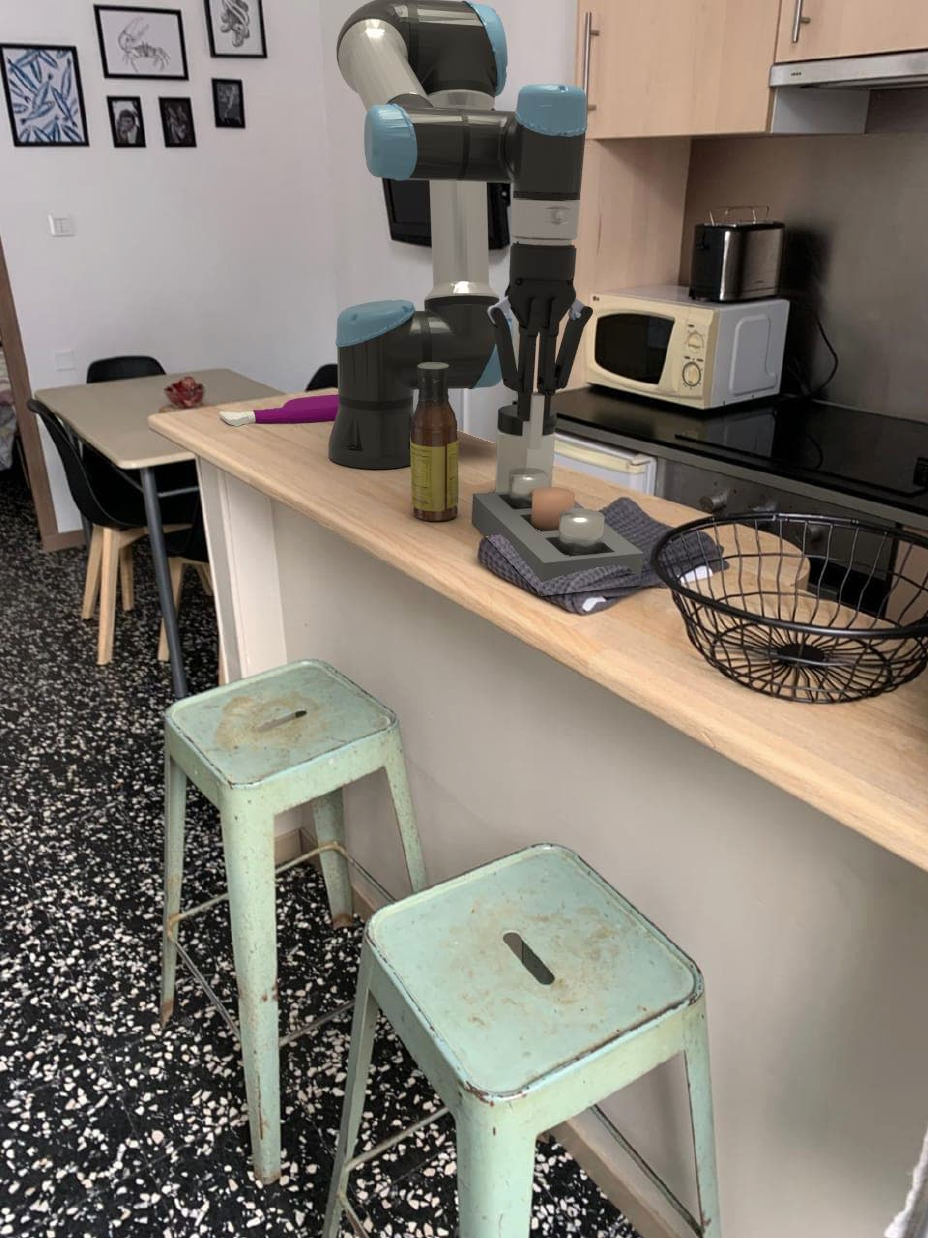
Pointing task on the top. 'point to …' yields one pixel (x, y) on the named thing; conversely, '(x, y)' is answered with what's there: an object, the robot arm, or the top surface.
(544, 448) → the jar
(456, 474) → the sauce bottle
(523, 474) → the knob
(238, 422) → the spray bottle
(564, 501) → the middle knob
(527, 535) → the knob mount
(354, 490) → the top surface
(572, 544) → the knob
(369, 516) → the top surface
